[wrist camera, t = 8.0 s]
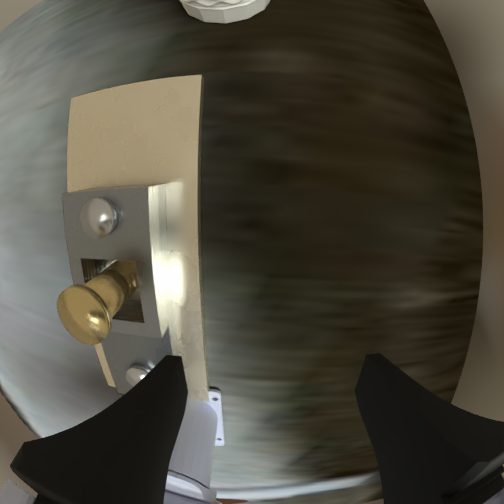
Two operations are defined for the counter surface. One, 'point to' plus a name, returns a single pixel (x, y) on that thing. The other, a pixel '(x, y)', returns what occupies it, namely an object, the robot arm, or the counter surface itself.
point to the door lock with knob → (141, 221)
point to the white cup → (223, 9)
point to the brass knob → (97, 301)
